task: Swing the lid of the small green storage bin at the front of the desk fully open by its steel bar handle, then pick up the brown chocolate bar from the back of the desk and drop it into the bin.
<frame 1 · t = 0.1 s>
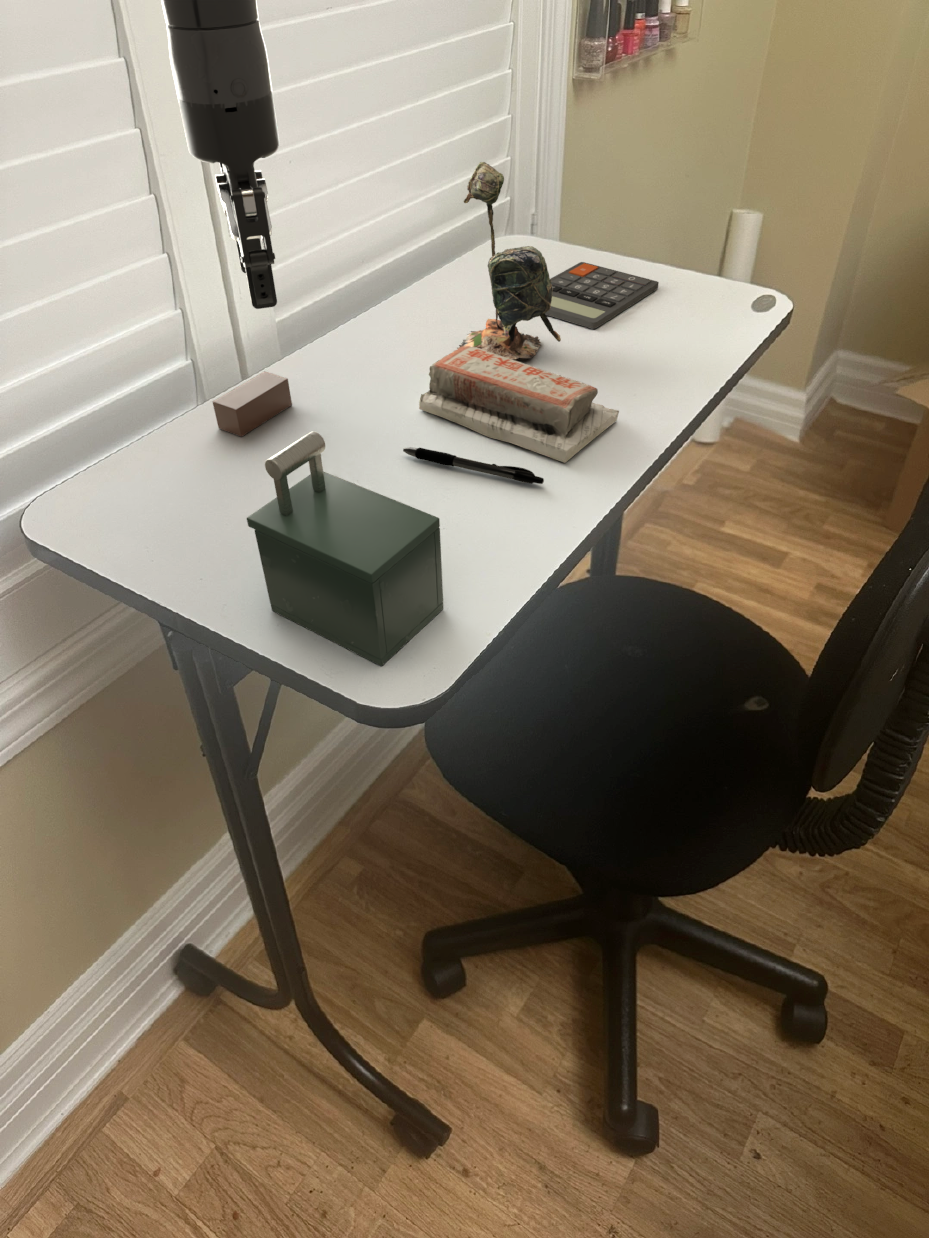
hand: (259, 288, 83), 13 cm above the table, tool pointing down, fingers open, 8 cm apart
bin lid: (339, 495, 63), point 10 cm above the table, hinge at 0.0°
pen: (472, 470, 84), on the table
packaged product: (516, 418, 91), on the table
plant with pod: (508, 353, 102), on the table
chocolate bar: (256, 416, 92), on the table
calculator: (587, 298, 112), on the table
green storage bin: (357, 609, 69), on the table
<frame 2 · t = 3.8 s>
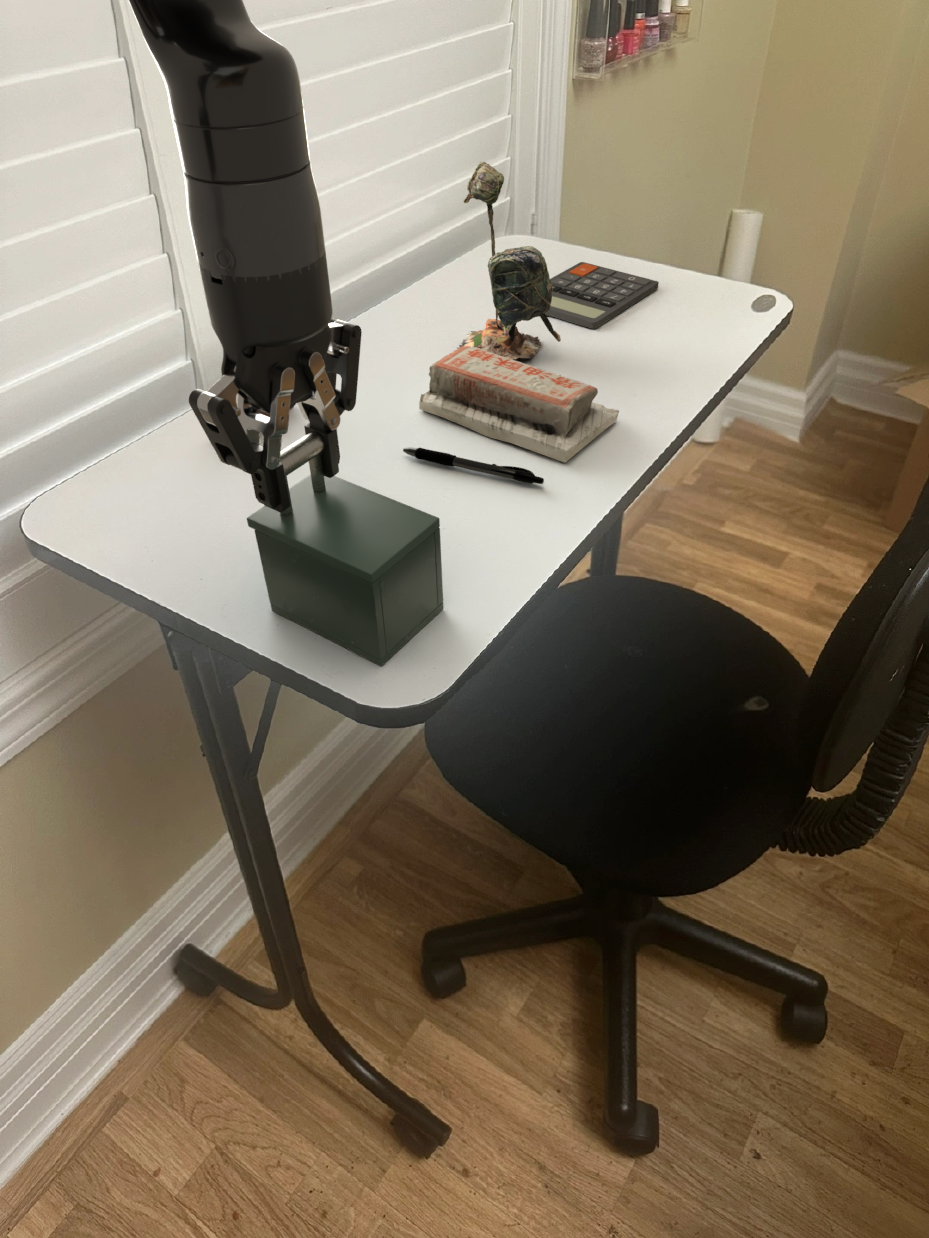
hand: (300, 488, 65), 10 cm above the table, tool pointing down, fingers closed on bin lid, 4 cm apart
bin lid: (339, 495, 63), point 10 cm above the table, hinge at -0.1°, touching gripper
everything else where it was.
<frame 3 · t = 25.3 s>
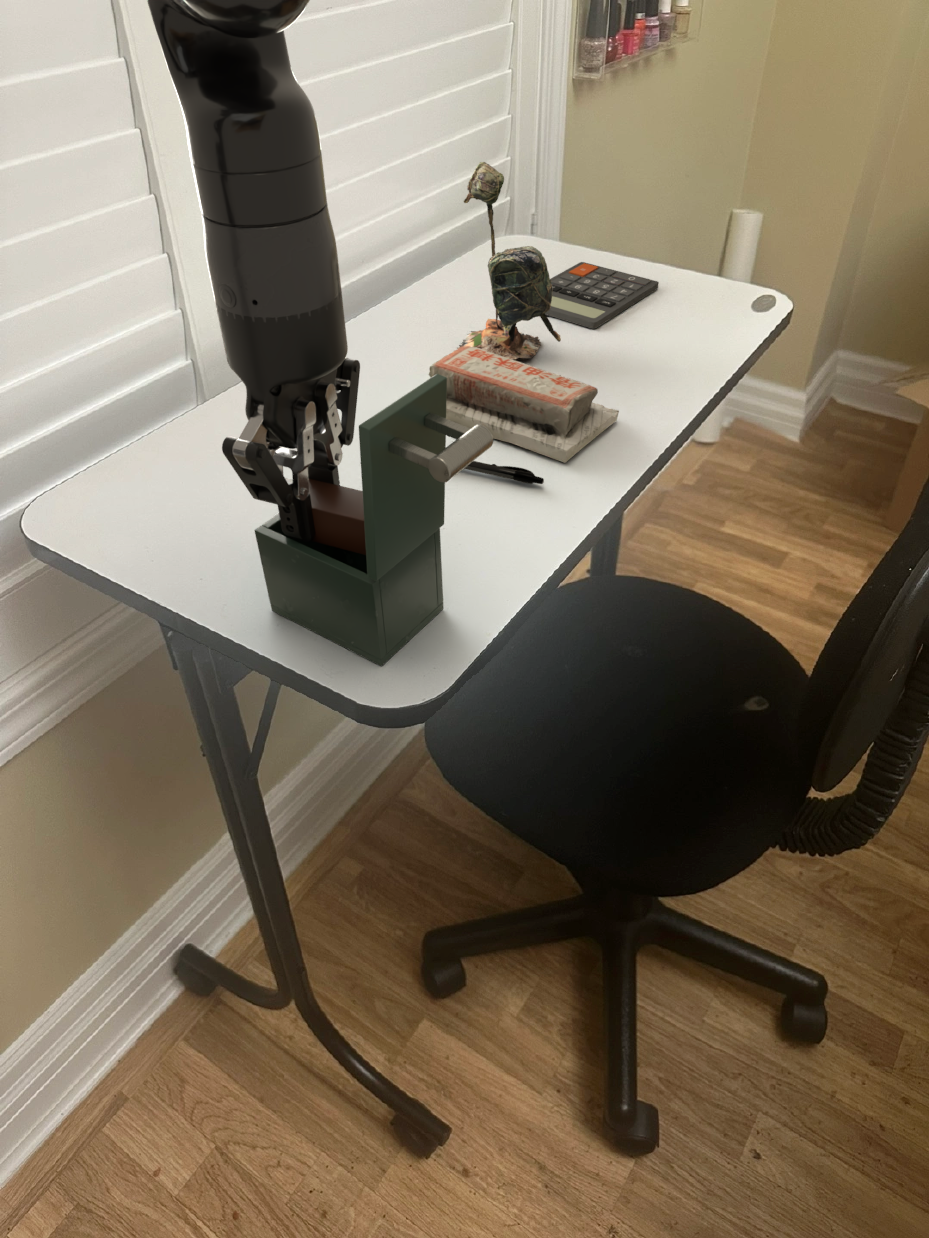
hand: (314, 521, 65), 8 cm above the table, tool pointing down, fingers closed on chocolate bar, 3 cm apart
bin lid: (434, 493, 57), point 14 cm above the table, hinge at 93.4°
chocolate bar: (344, 534, 65), point 7 cm above the table, touching gripper
everything else where it was.
when the fingers open (9 cm above the table, at t = 31.5 s): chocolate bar drops 8 cm, resting on green storage bin.
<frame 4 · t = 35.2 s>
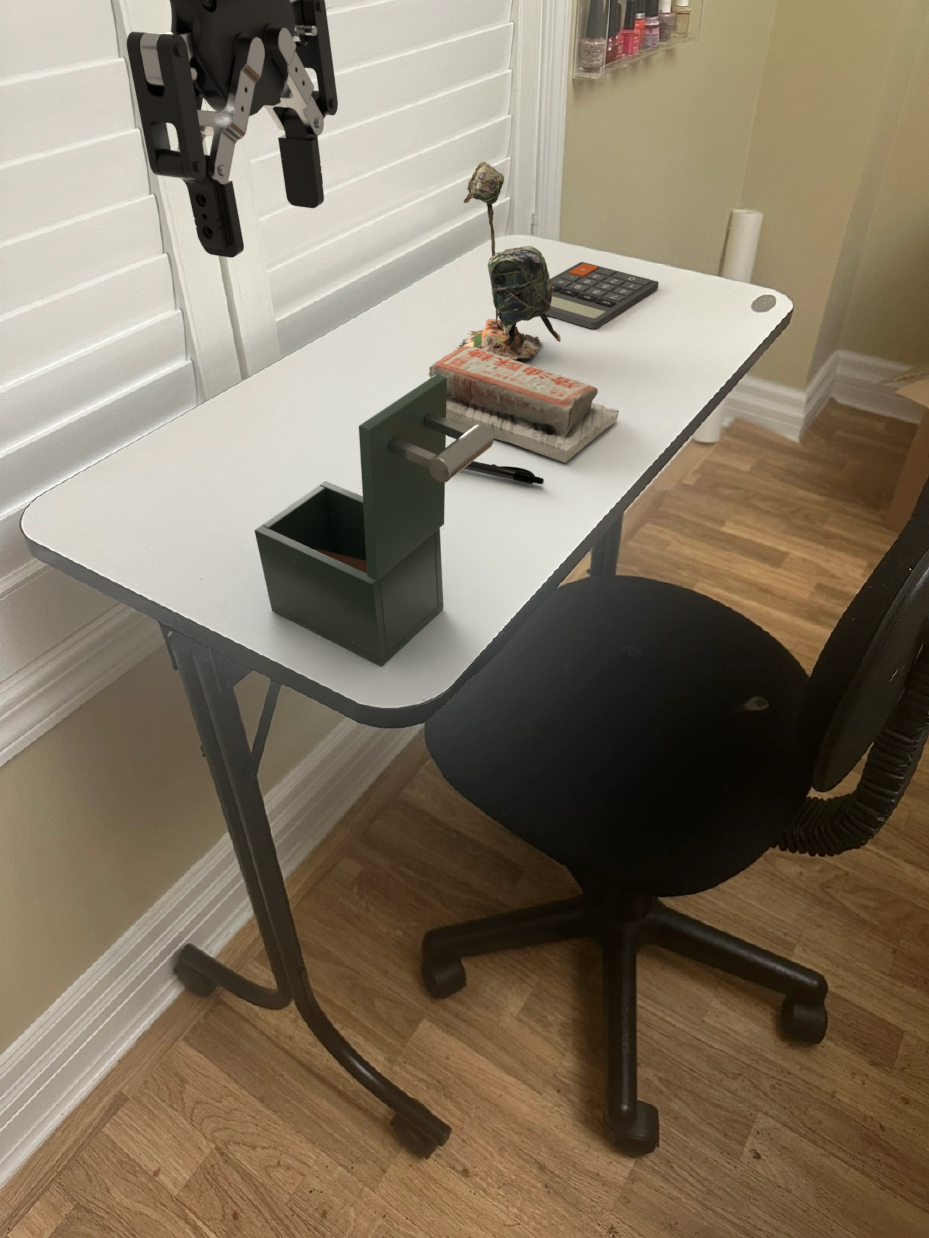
hand: (268, 228, 52), 28 cm above the table, tool pointing down, fingers open, 8 cm apart
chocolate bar: (352, 601, 69), point 1 cm above the table, touching green storage bin
everything else where it was.
at the end: bin lid at +93° (first picture: +0°); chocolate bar inside the target area in the green storage bin (0.4 cm from its centre), point 0.7 cm above the green storage bin's base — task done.
